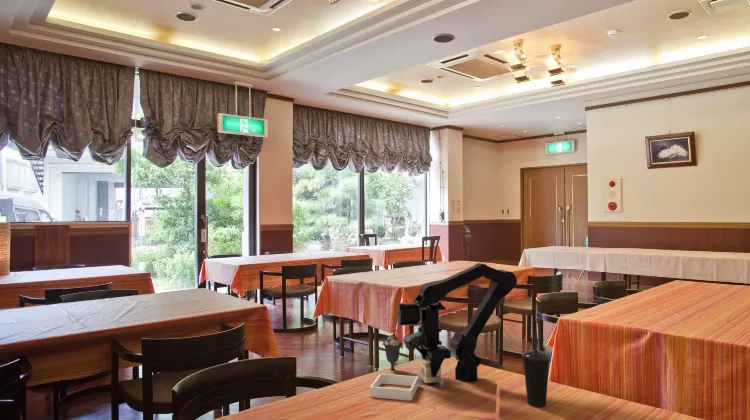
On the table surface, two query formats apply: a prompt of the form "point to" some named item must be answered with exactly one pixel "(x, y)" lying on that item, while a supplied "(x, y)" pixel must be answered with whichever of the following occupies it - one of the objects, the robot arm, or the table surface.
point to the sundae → (392, 349)
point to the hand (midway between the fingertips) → (430, 374)
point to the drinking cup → (536, 375)
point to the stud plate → (431, 383)
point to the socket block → (428, 372)
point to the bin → (394, 392)
